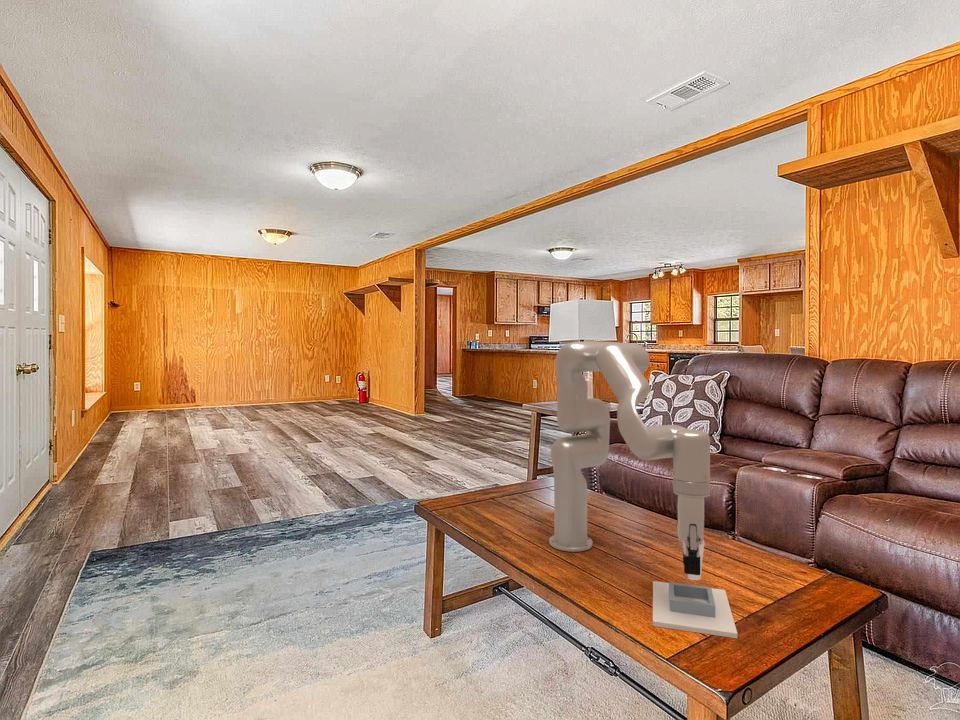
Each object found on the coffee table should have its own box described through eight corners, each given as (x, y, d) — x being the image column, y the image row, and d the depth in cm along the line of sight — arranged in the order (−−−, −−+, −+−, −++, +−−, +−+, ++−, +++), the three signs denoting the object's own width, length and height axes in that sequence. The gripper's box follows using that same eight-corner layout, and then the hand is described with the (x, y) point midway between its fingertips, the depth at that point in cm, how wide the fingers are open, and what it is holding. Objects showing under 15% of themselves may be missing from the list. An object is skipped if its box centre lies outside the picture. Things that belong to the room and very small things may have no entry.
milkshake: (682, 570, 122) (682, 526, 122) (707, 576, 118) (707, 531, 118) (675, 576, 118) (675, 531, 118) (700, 583, 115) (700, 536, 115)
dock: (652, 585, 130) (653, 570, 130) (724, 594, 126) (725, 579, 125) (652, 626, 111) (652, 609, 111) (737, 638, 107) (737, 621, 106)
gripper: (672, 476, 127) (672, 553, 127) (674, 495, 111) (674, 583, 111) (706, 479, 125) (706, 557, 125) (714, 498, 109) (714, 588, 109)
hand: (691, 568), depth 118 cm, fingers closed on milkshake, 4 cm apart
